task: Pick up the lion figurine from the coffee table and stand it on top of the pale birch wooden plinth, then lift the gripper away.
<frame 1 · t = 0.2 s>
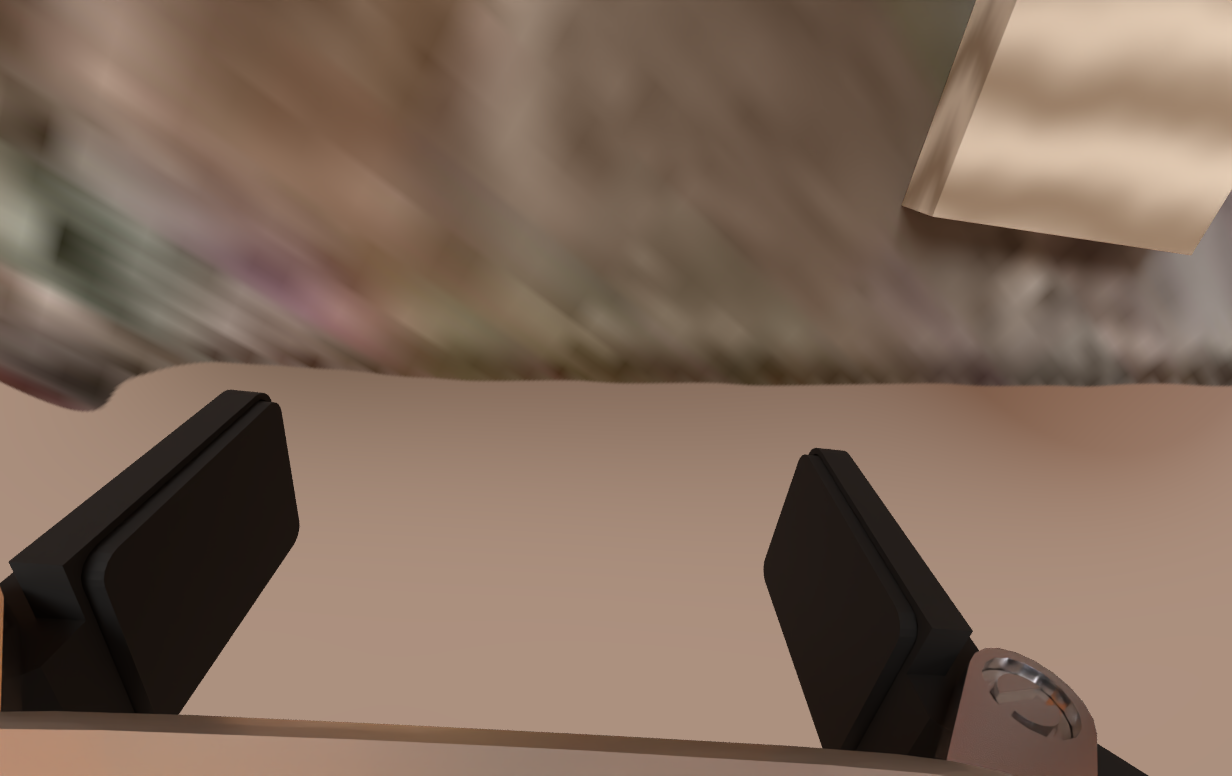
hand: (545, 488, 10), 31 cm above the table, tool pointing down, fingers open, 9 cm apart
birch plinth: (1081, 96, 36), on the table
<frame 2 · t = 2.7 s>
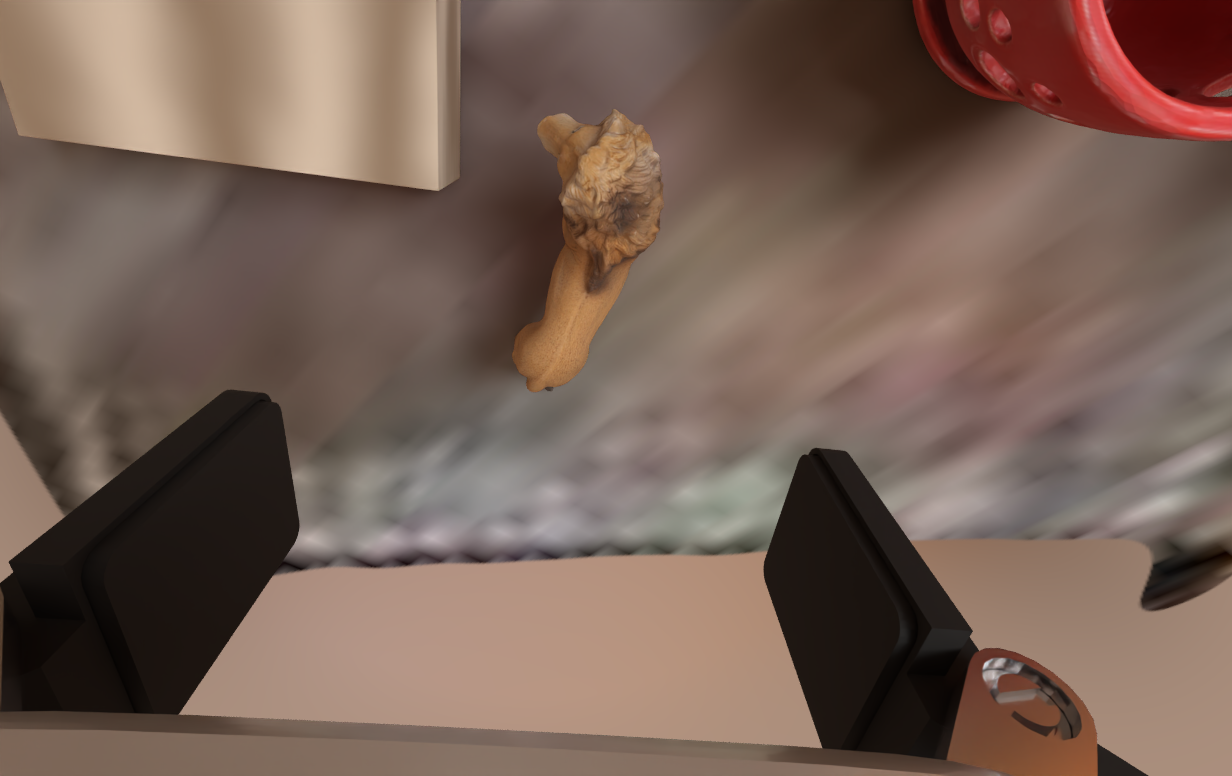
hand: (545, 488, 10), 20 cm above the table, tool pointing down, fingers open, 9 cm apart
lion figurine: (575, 250, 29), on the table
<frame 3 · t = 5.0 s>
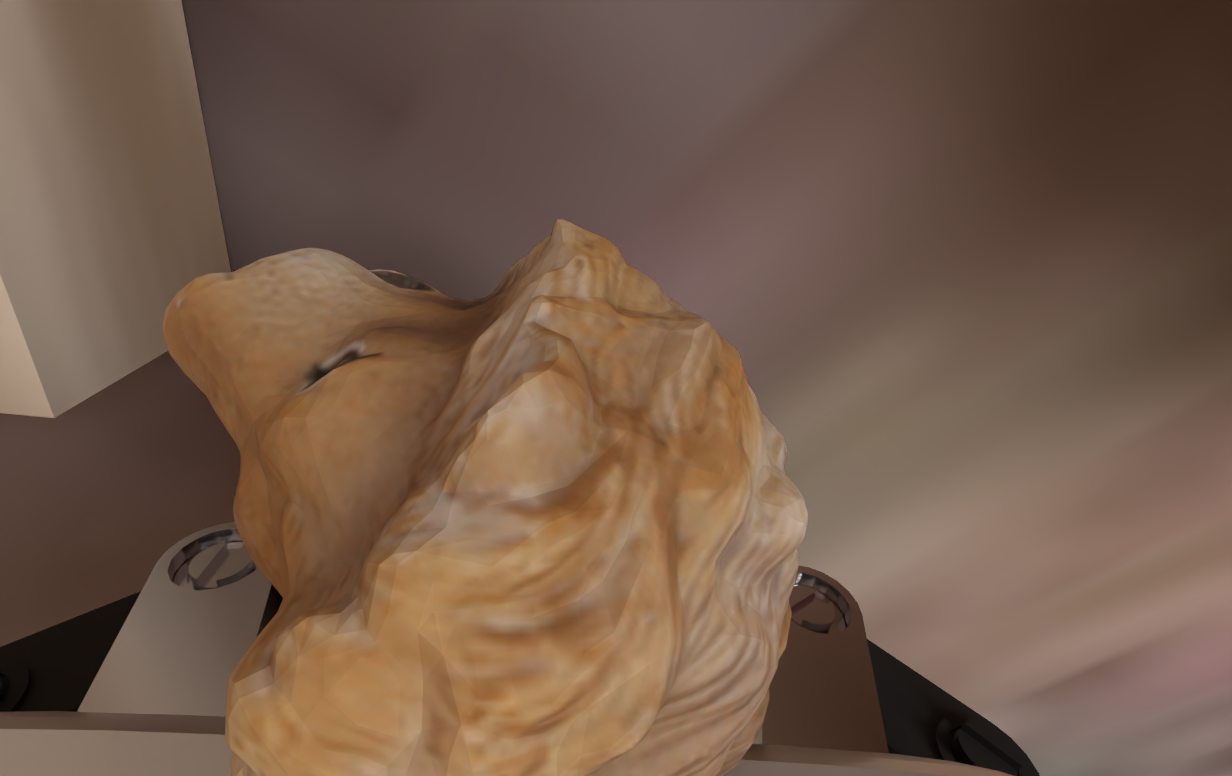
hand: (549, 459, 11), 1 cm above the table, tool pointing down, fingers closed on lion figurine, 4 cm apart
lion figurine: (527, 473, 13), on the table, touching gripper
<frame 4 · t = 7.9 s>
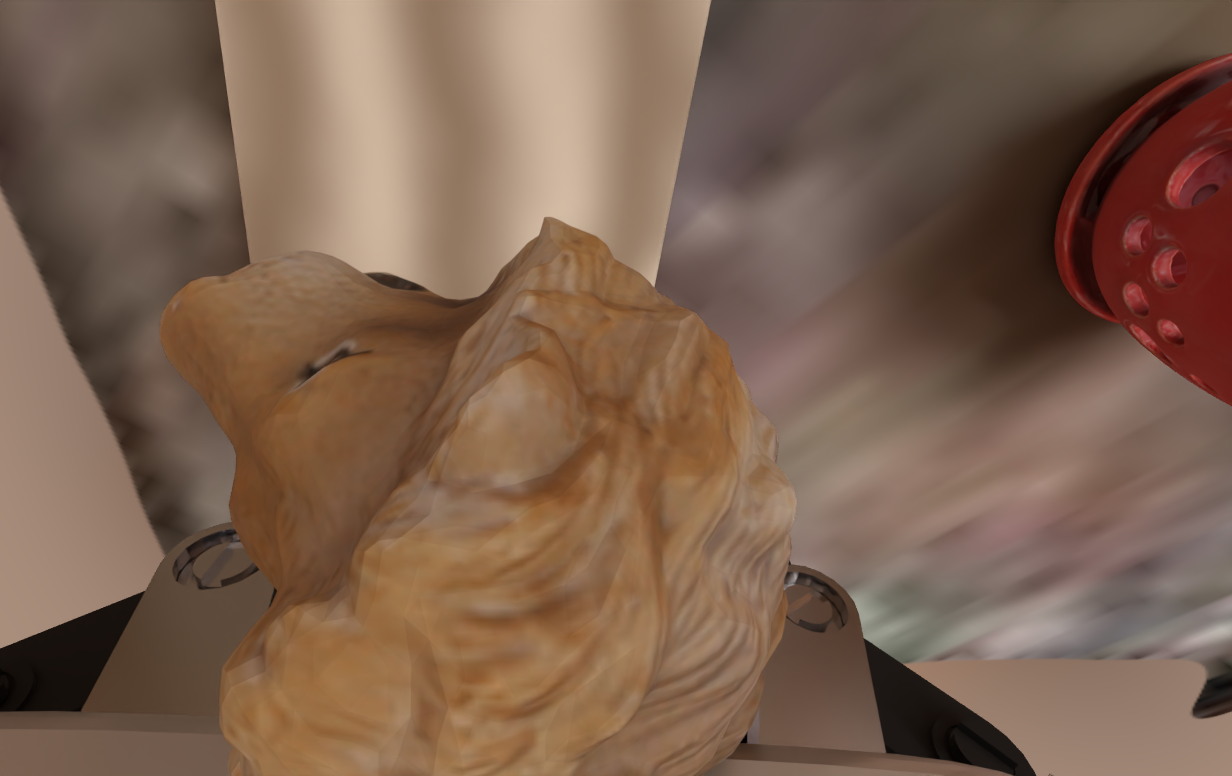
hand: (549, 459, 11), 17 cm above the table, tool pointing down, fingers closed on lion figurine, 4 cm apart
birch plinth: (480, 156, 24), on the table
plant pot: (1150, 199, 26), on the table
lion figurine: (529, 475, 13), point 16 cm above the table, touching gripper
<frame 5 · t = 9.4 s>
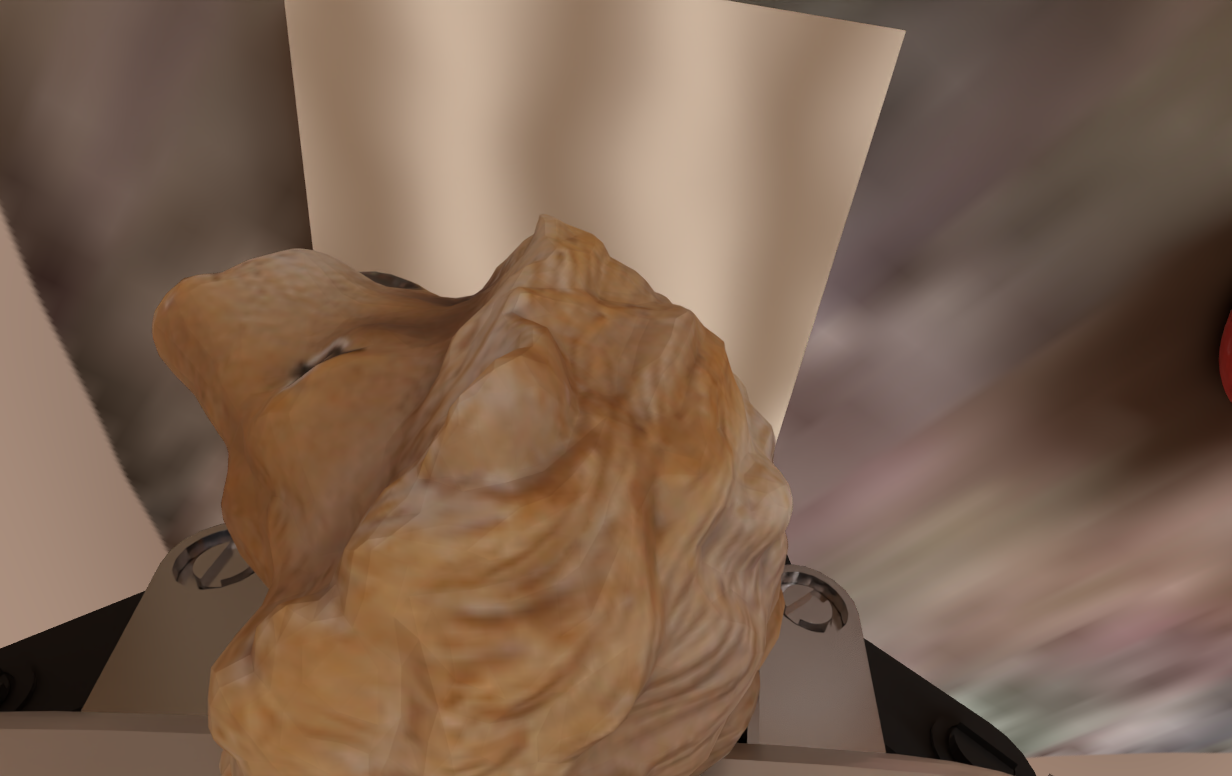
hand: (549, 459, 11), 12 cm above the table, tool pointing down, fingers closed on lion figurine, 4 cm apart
birch plinth: (576, 278, 22), on the table
lion figurine: (528, 475, 13), point 11 cm above the table, touching gripper
when the fingers open (6 cm above the table, at t = 10.8 s): lion figurine drops 1 cm, resting on birch plinth.
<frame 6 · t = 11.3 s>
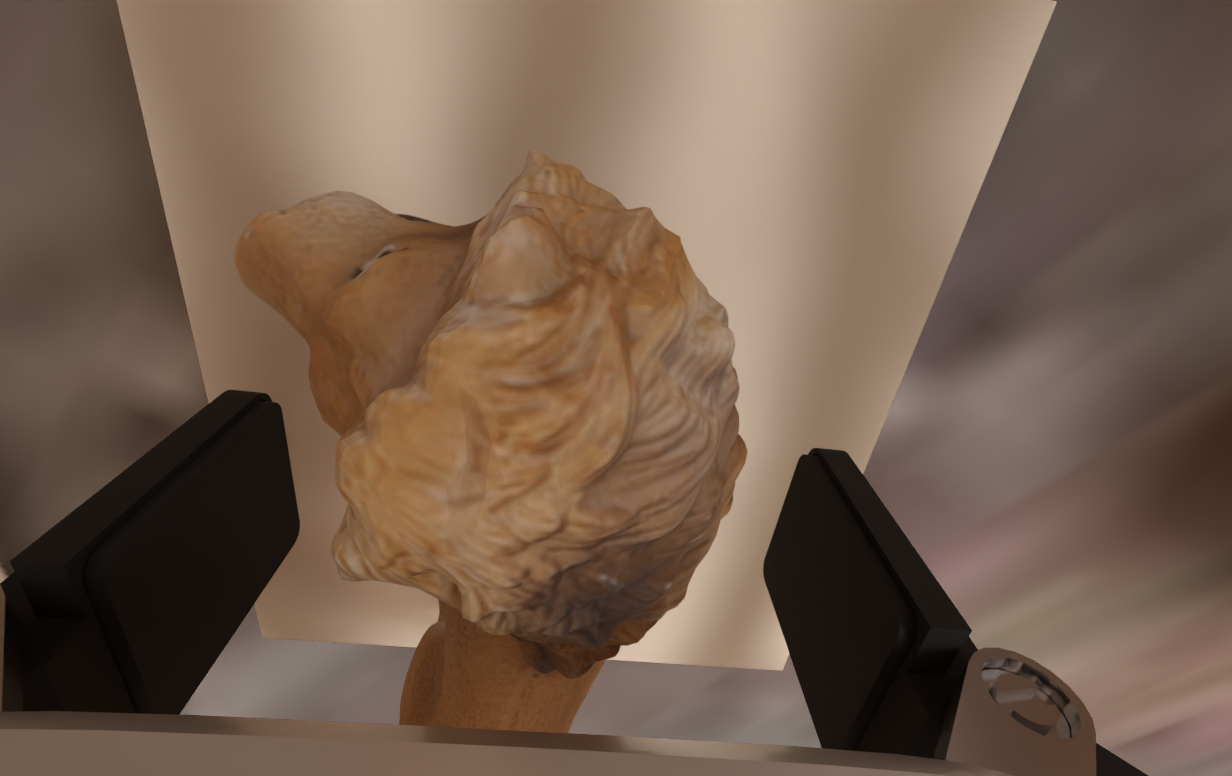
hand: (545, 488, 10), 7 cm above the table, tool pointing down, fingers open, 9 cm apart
birch plinth: (565, 336, 17), on the table
lion figurine: (532, 426, 14), point 4 cm above the table, touching birch plinth
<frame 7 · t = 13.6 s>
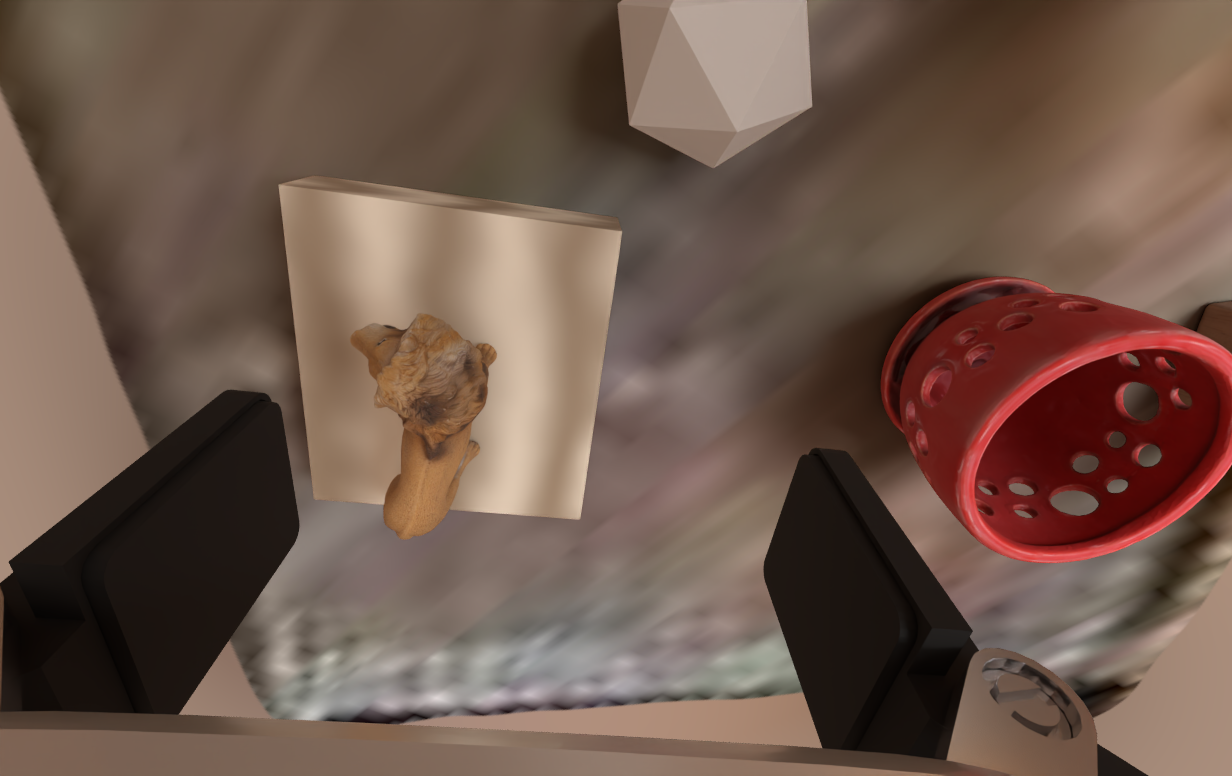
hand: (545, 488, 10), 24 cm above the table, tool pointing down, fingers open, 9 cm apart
die: (698, 62, 28), on the table
birch plinth: (466, 350, 34), on the table
plant pot: (951, 359, 37), on the table
lion figurine: (443, 393, 31), point 4 cm above the table, touching birch plinth
wooden block: (1208, 361, 38), on the table
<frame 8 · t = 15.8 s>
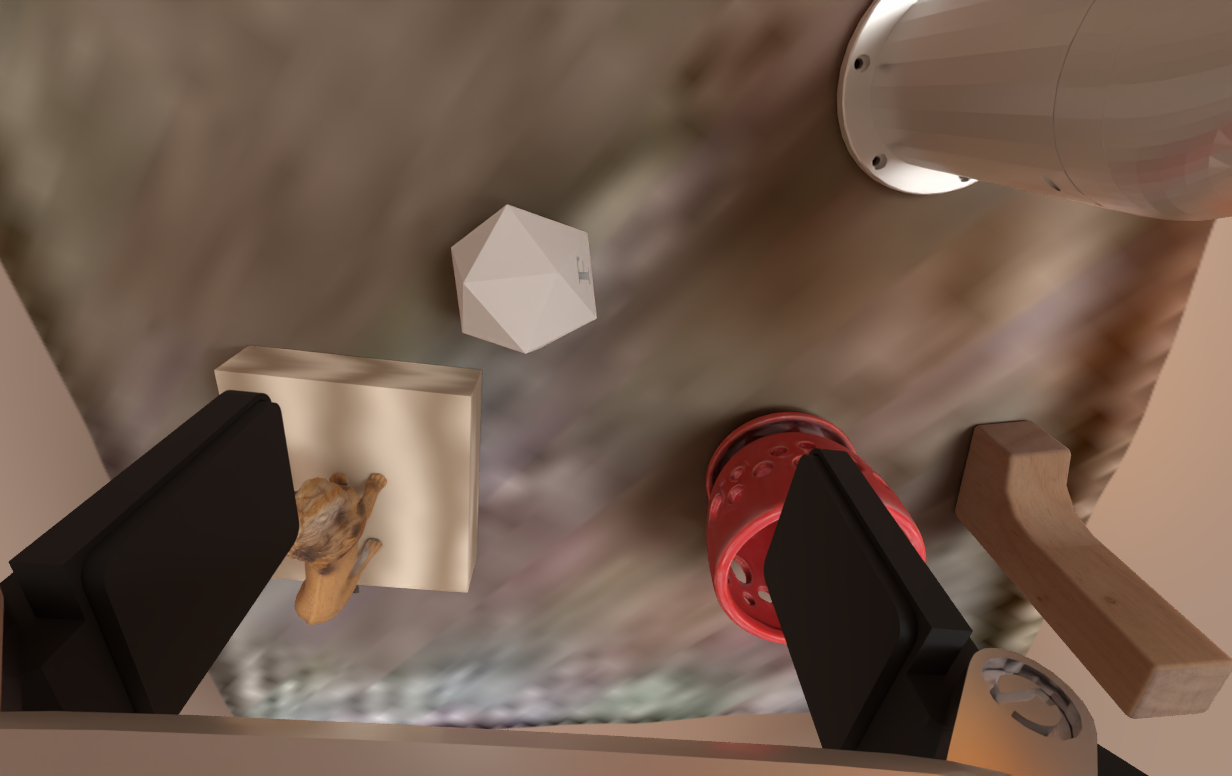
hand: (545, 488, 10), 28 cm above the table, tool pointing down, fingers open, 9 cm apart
die: (531, 265, 37), on the table
birch plinth: (375, 462, 44), on the table
plant pot: (768, 465, 45), on the table
lion figurine: (351, 506, 41), point 4 cm above the table, touching birch plinth
wooden block: (988, 466, 46), on the table
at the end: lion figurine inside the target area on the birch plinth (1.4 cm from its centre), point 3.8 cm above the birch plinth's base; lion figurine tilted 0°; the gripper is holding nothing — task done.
